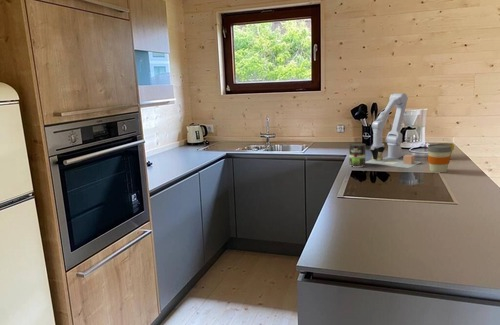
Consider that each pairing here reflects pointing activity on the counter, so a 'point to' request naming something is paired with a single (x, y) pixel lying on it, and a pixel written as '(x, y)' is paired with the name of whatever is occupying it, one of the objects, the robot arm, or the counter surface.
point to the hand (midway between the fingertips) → (377, 158)
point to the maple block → (379, 156)
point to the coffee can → (357, 154)
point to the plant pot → (450, 145)
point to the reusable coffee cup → (439, 157)
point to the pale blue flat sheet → (392, 162)
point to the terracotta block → (408, 159)
